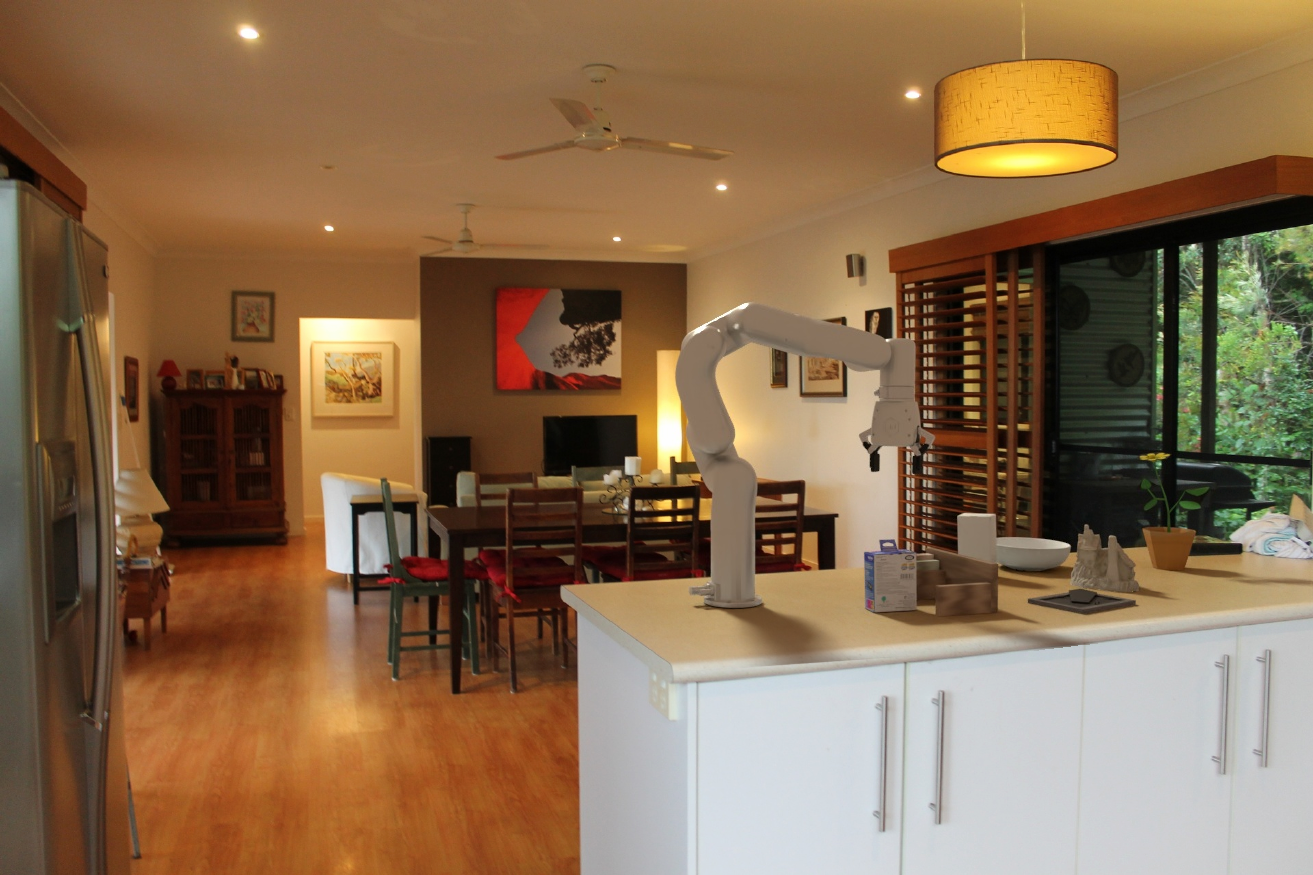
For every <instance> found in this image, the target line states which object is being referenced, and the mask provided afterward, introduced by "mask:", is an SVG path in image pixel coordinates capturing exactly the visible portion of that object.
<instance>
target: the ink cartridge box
mask: <svg viewBox="0 0 1313 875" xmlns="http://www.w3.org/2000/svg"><path fill="white" fill-rule="evenodd" d="M878 542H879V548H880V550H874V551H872V550H871V551H870V550H869V551H864V552H863V555H864V556H863V559H864V560H863V563H864V564H863V566H864V609H866V610H868V611H870V612H872V613H885V612H886V613H887V612H903V611H904V612H906V611H907V612H908V611H916V610H918V609H917V608H918V606H917V605H918V604H917V595H916V554H917V552H916V551H913V550H909V549H898V546H897V543H896V539H879V540H878ZM888 543H890V544H892V545H885V546H884V544H888Z"/></svg>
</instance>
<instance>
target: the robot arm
mask: <svg viewBox="0 0 1313 875" xmlns="http://www.w3.org/2000/svg"><path fill="white" fill-rule="evenodd" d="M750 343H752V344H756V345H760V346H764V347H768V348H771V349H775V350H778V351H782V352H785V353H788V354H790V355H791V354H792V355H794V356H799V357H804V358H805V357H807V358H824V359H830V360H835V361H836V360H837V361H840V362H843V363H844V365H845V366H846V367H847V368H848V369H850V370H852V371H853V372H857V373H859V372H860V373H865V372H869V371H870V372H872V371H879V386H878V389H874V390H873V395H874V396H875V397H878V399H879V401H878V400H877V401H874V407H873V412H872V419H871V426H870V428H868V429H866V430H864V431H862V432H860V433H859V435H858V437H859V439H860V441H861V443H862V447H863V448H864V450H866V451H867V454H869V468H870V472H871V473H877V472H878V473H879V472H880V471H881V468H880V466H881V454H880V453H879V451H881V449H882V447H900V448H902V447H904V448H905V447H906V448H907V447H909V448H910V450H911V451H912V452H913V453H914V455H912V458H911V461H912V463H911V467H912V468H911V474H913V475H920V474H921V473H922V471H923V462H924V461H923V460H924V458H923V456H925V455H926V453H927V452H928V451H929V450H930V449H931V447H932V445H933V443H934V441H935V440H936V436H935V435H934V434H932V433H930V432H929V431H927V430H926V429H923V428H922V427H921V415H920V408H919V403H918V401H915V395H916V394H915V393H916V387H915V386H916V343H915V341H914V340H913V339H911V338H904V337H903V338H901V337H900V338H899V337H898V338H897V337H896V338H895V337H894V338H884V337H882V336H881V335H879V334H875V333H874V332H873V333H872V332H869V331H866V330H862V329H859V328H855V327H851V326H847V325H844V324H841V323H840V324H839V323H834V322H830V321H826V320H822V319H817V318H812V317H809V316H805V315H802V314H798V313H794V312H791V311H787V310H784V309H780V308H777V307H773V306H771V305H767V304H764V303H760V302H752V301H750V302H746V303H743V304H741V305H738V306H737V307H735V308H733V309H731V310H729V311H728V312H726V313H724V314H723V315H721V316H719V317H717V318H715V319H713V320H711V321H709V322H708V323H705V324H703V325H702V326H700V327H697V328H695V329H693V330H692V331H689V332H688V333H687V334H686V335H685V336H684V338H683V339H682V341H681V346H680V352H679V355H678V357H677V361H676V366H675V372H674V374H675V376H674V379H675V380H674V381H675V386H676V391H677V394H678V397H679V399H680V402H681V406H682V408H683V411H684V413H685V417H686V419H687V424H686V426H685V427H686V428H685V436H686V441H687V444H688V446H689V449H690V451H691V454H692V456H693V459H694V461H695V464H696V466H697V468H698V471H699V473H700V477H701V478H702V480H703V483H704V484H705V486H706V488H707V489H708V490H709V492H711V493H712V495H711V508H710V580H706V584H704V583H703V585H700V586H699V585H691V586H689V588H688V592H689V595H690V596H699V597H702V596H703V603H704V604H706V605H708V606H712V607H718V608H727V609H728V608H730V609H731V608H732V609H740V608H741V609H742V608H752V607H756V606H759V605H761V604H762V603H763V597H762V596H760V595H758V594H756V507H757V506H756V505H757V504H756V503H757V496H758V495H757V494H758V475H757V473H756V471H755V468H754V467H753V465H752V464H751V463H750V462H749V461H747V460H746V459H745V458H742V457H740V456H739V454H738V452H737V449H736V446H735V444H734V441H735V439H736V429H735V426H734V423H733V420H732V419H731V416H730V415H729V413H728V410H727V409H728V408H727V407H726V404H725V403H724V399H723V397H722V395H721V392H720V388H719V386H718V383H717V379H716V370H717V367H718V364H719V362H720V361H721V360H722V359H723V358H725V357H728V356H729V355H730V354H732V353H734V352H736V351H738V350H740V349H742V348H743V347H745V346H747V345H748V344H750ZM869 437H870V441H869ZM922 437H923V438H925V442H924V443H923V444H922V445H921V444H920V443H921V441H922V440H921V438H922Z"/></svg>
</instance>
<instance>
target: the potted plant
mask: <svg viewBox="0 0 1313 875" xmlns="http://www.w3.org/2000/svg"><path fill="white" fill-rule="evenodd" d="M1170 456H1172V453H1169V452H1168V453H1167V452H1161V451H1156V452H1155V451H1154V452H1148V453H1142V454H1141V453H1140V454H1139V455H1138V456H1137V457H1136V458H1135V459H1136V460H1142V461H1150V462H1152V463H1154V464H1153V466H1154V469H1155V474H1156V477H1157V480H1158V483H1159V485H1158V484H1156V483H1154V482H1152V480H1149V479H1147V478H1145V477H1144V478H1143V479H1142V480H1141V481H1140V483H1138V486H1137V487H1136V488H1135V490H1134V492H1135V491H1142V490H1147V491H1148V492H1149V493H1150V495H1151V496H1152V498H1153V499H1150V500H1148V501H1147V502H1144V503H1142V504H1140V505H1138V506H1137V508H1139V509H1140V510H1142V511H1145V512H1147V511H1149V510H1150V509H1152V508H1154V507H1157V506H1158V505H1161V504H1163V503H1164V501H1165V505H1166V506H1165V507H1166V511H1167V526H1147V527H1143V528H1142V532H1143V535H1144V539H1145V543H1146V547H1147V551H1148V555H1149V558H1150V560H1151V564H1152V568H1154V567H1155V568H1154V569H1157V570H1163V569H1165V570H1164V571H1183V570H1185V568H1186V565H1187V562H1188V559H1189V556H1190V552H1191V549H1192V546H1193V543H1194V541H1195V540H1194V539H1195V536H1196V533H1197V531H1196V530H1195V529H1190V528H1183V527H1171V515H1170V514H1171V512H1172V511H1173V510H1174V509H1175V507H1177V505H1178V511H1179V512H1178V513H1179V514H1181V513H1184V512H1189V511H1194V510H1199V509H1202V503H1203V501H1204V499H1205V498H1206V495H1207V494H1208V492H1209V490H1210V488H1211V486H1206V487H1195V488H1188V489H1184V490H1183V493H1182V495H1181V496H1180V498H1179V499H1178V501H1177V502H1176V503H1175V504H1174V505H1173V507H1171V508H1169V503H1168V499H1167V495H1166V493H1165V490H1164V488H1163V485H1162V482H1161V479H1160V477H1159V474H1158V469H1157V466H1156V462H1158V461H1159V460H1165V459H1168V458H1169V457H1170ZM1158 487H1160V488H1161V491H1162V494H1163V498H1162V497H1161V498H1160V497H1156V496H1155V495H1154V493H1152V491H1151V490H1150V489H1154V488H1158ZM1185 493H1187V494H1189V495H1190V496H1191V497H1193V498H1188V499H1183V500H1181V499H1182V498H1183V497H1184V495H1185Z"/></svg>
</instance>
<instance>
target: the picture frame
mask: <svg viewBox="0 0 1313 875" xmlns="http://www.w3.org/2000/svg"><path fill="white" fill-rule="evenodd" d="M1136 602H1137V600H1136V599H1129V598H1124V597H1118V596H1113V595H1108V594H1102V593H1098V592H1097V591H1093V590H1089V589H1086V588H1075V589H1069V590H1068V592H1062V593H1055V594H1049V595H1048V594H1047V595H1044V596H1037V597H1031V598H1027V604H1028V605H1029V604H1031V605H1034V606H1041V607H1044V608H1045V607H1046V608H1050V609H1053V610H1054V609H1055V610H1058V611H1063V612H1064V611H1065V612H1070V613H1075V614H1079V615H1086V614H1087V615H1088V614H1093V613H1098V612H1103V611H1109V610H1114V609H1115V610H1116V609H1120V608H1121V609H1122V608H1127V607H1131V606H1136V605H1137V603H1136Z"/></svg>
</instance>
